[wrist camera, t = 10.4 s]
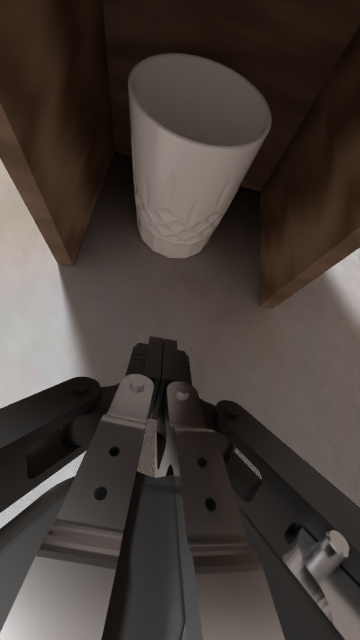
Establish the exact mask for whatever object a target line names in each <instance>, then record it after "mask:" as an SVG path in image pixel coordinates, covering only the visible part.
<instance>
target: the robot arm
mask: <svg viewBox="0 0 360 640" xmlns="http://www.w3.org/2000/svg"><path fill="white" fill-rule="evenodd" d="M152 410H153V411H152ZM151 414H152V419H155V420H157V427H156V430H155V434H154V456H155V478H154V477H150V476H147V475H145V474H142V473H140V472H137V466H138V462H139V457H140V452H141V447H142V443H143V438H144V433H145V428H146V424H147V420H148V419H150V418H151ZM236 448H237V449H238V450H239V451H240V452H241V453H242V454H243V455H244V456H245V457H246V458H247V459H248V460H249V461H250V462H251V463H252V464H253V465H254V466H255V467H256V468H257V469H258V470H259V472H260V474H261V476H262V480H261V479H260V478H259V477H258V476H257V475H256V474H255V473H254V472H253V471H252V470H251V469H250V468H249V467H248V466H247V465H246V464H245V463H244V461H243V460H242V459H241V458H240V457H239V456H238V455H237V454H236V453H235V452H234V451H235V449H236ZM86 450H87V451H86ZM85 451H86V453H85V456H84V458H83V460H82V462H81V465H80V467H79V469H78V471H77V474H76V476H74V477H72V478H69V479H67V480H65V481H63V482H61V483H59V484H57V485H56V486H54V487H53V488H51V489H50V490H48V491H47V492H45V493H44V494H43V495H42V496H40V497H39V498H38V499H37V500H35V501H34V502H33V503H32V504H31V505H29V506H28V507H27V508H26V509H24V510H23V511H22V512H21V513H19V514H18V515H17V516H16V517H15V518H13V519H12V520H11V521H10V522H8V523H7V524H6V525H5V526H3V527H2V528H1V529H0V640H360V508H359V507H358V506H357V505H356V504H355V503H354V502H352V501H351V500H350V499H349V498H348V497H347V496H345V495H344V494H343V493H342V492H341V491H340V490H338V489H337V488H336V487H335V486H334V485H333V484H331V483H330V482H329V481H328V480H327V479H326V478H324V477H323V476H322V475H321V474H320V473H318V472H317V471H316V470H315V469H314V468H313V467H311V466H310V465H309V464H308V463H307V462H306V461H304V460H303V459H302V458H301V457H300V456H299V455H297V454H296V453H295V452H294V451H293V450H292V449H290V448H289V447H288V446H287V445H286V444H285V443H283V442H282V441H281V440H280V439H279V438H278V437H276V436H275V435H274V434H273V433H272V432H270V431H269V430H268V429H267V428H266V427H265V426H263V425H262V424H261V423H260V422H259V421H258V420H256V419H255V418H254V417H253V416H252V415H251V414H249V413H248V412H247V411H246V410H245V409H244V408H242V407H241V406H240V405H238V404H237V403H235V402H232V401H228V400H223V401H220V402H218V403H217V405H216V406H214V405H212V404H210V403H207V402H205V401H203V400H201V399H200V398H199V396H198V393H197V391H196V389H195V388H194V387H193V386H192V380H191V373H190V365H189V357H188V356H187V354H186V353H185V352H184V351H180V350H177V341H174V340H169V339H164V340H163V338H158V337H153V336H150V339H149V344H142V343H138V344H137V345H136V346H135V347H134V348H133V352H132V355H131V359H130V362H129V365H128V369H127V372H126V376H125V377H124V378H123V379H122V381H121V382H120V383H119V384H117V385H114V386H109V387H100V384H99V383H98V382H97V381H96V380H94V379H92V378H89V377H75V378H72V379H69V380H67V381H65V382H62V383H60V384H58V385H55V386H53V387H51V388H48V389H46V390H43V391H41V392H39V393H36V394H34V395H32V396H29V397H27V398H25V399H22V400H20V401H17V402H15V403H13V404H10V405H8V406H6V407H3V408H1V409H0V513H1V512H2V511H4V510H5V509H6V508H8V507H9V506H10V505H12V504H13V503H15V502H16V501H17V500H19V499H20V498H21V497H23V496H24V495H26V494H27V493H28V492H30V491H31V490H32V489H34V488H35V487H37V486H38V485H39V484H41V483H42V482H43V481H45V480H46V479H48V478H49V477H50V476H52V475H53V474H55V473H56V472H57V471H59V470H60V469H61V468H63V467H64V466H66V465H67V464H68V463H70V462H71V461H72V460H74V459H75V458H77V457H78V456H79V455H81V454H82V453H83V452H85Z"/></svg>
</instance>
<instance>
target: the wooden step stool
mask: <svg viewBox="0 0 360 640" xmlns="http://www.w3.org/2000/svg"><path fill="white" fill-rule="evenodd" d="M162 53H184V54H191V55H196V56H200V57H204V58H207V59H210V60H213V61H216V62H218V63H220V64H223V65H225V66H227V67H229V68H231V69H232V70H234V71H236V72H237V73H239V74H240V75H242V76H243V77H245V78H246V79H247V80H248V81H250V82H251V83H252V84H253V85H254V86H255V87H256V88H257V89H258V90H259V91H260V93H261V94H262V95H263V97H264V98H265V100H266V101H267V103H268V105H269V108H270V111H271V115H272V124H271V128H270V131H269V133H268V135H267V137H266V138H265V140H264V142H263V144H262V146H261V148H260V149H259V151H258V153H257V155H256V157H255V159H254V161H253V162H252V164H251V166H250V168H249V170H248V172H247V174H246V176H245V177H244V179H243V181H242V183H241V185H240V186H242V187H246V188H249V189H253V190H257V191H260V192H261V270H260V305H261V306H266V307H270V308H274V307H275V306H277V305H278V304H279V303H281V302H282V301H284V300H285V299H287V298H288V297H290V296H291V295H292V294H294V293H295V292H297V291H298V290H300V289H301V288H302V287H304V286H305V285H307V284H308V283H310V282H311V281H312V280H314V279H315V278H317V277H318V276H320V275H321V274H322V273H324V272H325V271H327V270H328V269H330V268H331V267H332V266H334V265H335V264H337V263H338V262H340V261H341V260H343V259H344V258H345V257H347V256H348V255H350V254H351V253H353V252H354V251H355V250H357V249H358V248H360V0H0V158H1V160H2V162H3V164H4V166H5V168H6V169H7V171H8V173H9V175H10V177H11V179H12V180H13V182H14V184H15V186H16V188H17V190H18V191H19V193H20V195H21V197H22V199H23V201H24V202H25V204H26V206H27V208H28V210H29V212H30V213H31V215H32V217H33V219H34V221H35V223H36V224H37V226H38V228H39V230H40V232H41V234H42V235H43V237H44V239H45V241H46V243H47V245H48V247H49V248H50V250H51V252H52V254H53V256H54V258H55V259H56V261H57V263H61V264H66V265H70V266H73V265H74V262H75V259H76V257H77V254H78V251H79V248H80V246H81V243H82V240H83V237H84V234H85V232H86V229H87V226H88V223H89V221H90V218H91V215H92V212H93V210H94V207H95V204H96V201H97V198H98V196H99V193H100V190H101V187H102V185H103V182H104V179H105V176H106V174H107V171H108V168H109V165H110V162H111V160H112V157H113V154H114V151H115V152H119V153H122V154H126V155H130V156H132V148H131V129H130V112H129V95H128V78H129V74H130V72H131V70H132V69H133V67H134V66H135V65H136V64H137V63H138V62H140V61H141V60H143V59H145V58H147V57H150V56H153V55H157V54H162Z"/></svg>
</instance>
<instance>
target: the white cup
mask: <svg viewBox="0 0 360 640" xmlns="http://www.w3.org/2000/svg"><path fill="white" fill-rule="evenodd" d="M128 95H129V112H130V129H131V148H132V168H133V180H134V194H135V203H136V209H137V226H138V229H139V232H140V235H141V239H142V240H143V241H144V242H145V243H146V244H147V245H148V246H149V247H150V248H151V249H152V250H153V251H154V252H157V253H159V254H161V255H164V256H166V257H168V258H188V257H190V256H193V255H195V254H197V253H200V252H201V250H202V249H203V248H204V247H205V245H206V244H207V243H208V241H209V239H210V237H211V236H212V234H213V232H214V230H215V229H216V228H217V226H218V224H219V223H220V221H221V219H222V217H223V216H224V214H225V212H226V210H227V209H228V207H229V205H230V204H231V202H232V200H233V198H234V196H235V194H236V192H237V191H238V189H239V187H240V185H241V183H242V181H243V179H244V177H245V176H246V174H247V172H248V170H249V168H250V166H251V164H252V162H253V161H254V159H255V157H256V155H257V153H258V151H259V149H260V148H261V146H262V144H263V142H264V140H265V138H266V137H267V135H268V133H269V131H270V128H271V124H272V115H271V111H270V108H269V105H268V103H267V101H266V100H265V98H264V97H263V95H262V94H261V93H260V91H259V90H258V89H257V88H256V87H255V86H254V85H253V84H252V83H251V82H250V81H248V80H247V79H246V78H245V77H243V76H242V75H240V74H239V73H237V72H236V71H234V70H232V69H231V68H229V67H227V66H225V65H223V64H220V63H218V62H216V61H213V60H210V59H207V58H204V57H200V56H196V55H191V54H184V53H162V54H157V55H153V56H150V57H147V58H145V59H143V60H141V61H140V62H138V63H137V64H136V65H135V66H134V67H133V69H132V70H131V72H130V74H129V78H128Z"/></svg>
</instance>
